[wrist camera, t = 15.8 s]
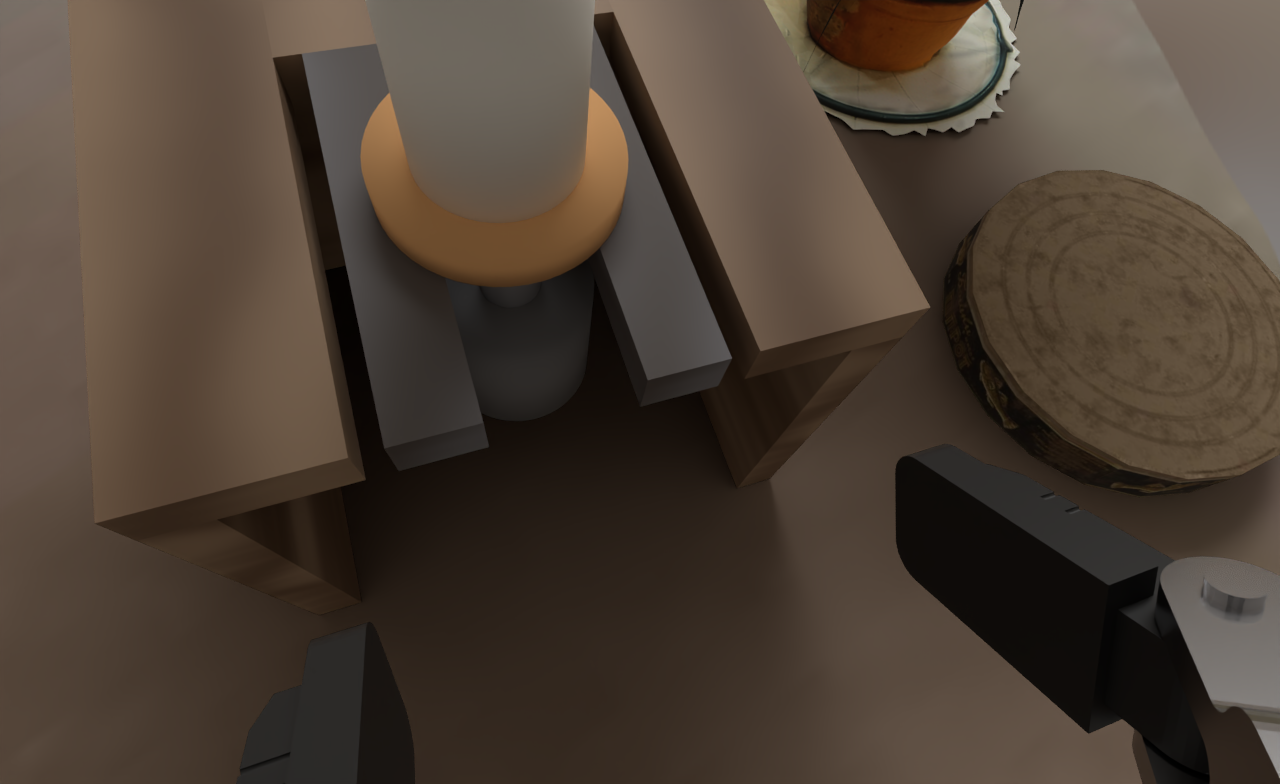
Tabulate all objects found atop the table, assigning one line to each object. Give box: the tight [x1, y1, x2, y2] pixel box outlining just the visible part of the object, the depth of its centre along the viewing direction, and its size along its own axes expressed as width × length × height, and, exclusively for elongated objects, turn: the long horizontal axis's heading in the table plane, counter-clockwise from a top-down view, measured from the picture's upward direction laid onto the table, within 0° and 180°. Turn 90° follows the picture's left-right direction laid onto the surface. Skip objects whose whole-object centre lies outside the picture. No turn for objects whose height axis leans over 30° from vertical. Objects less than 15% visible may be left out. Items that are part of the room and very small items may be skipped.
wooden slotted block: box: [68, 0, 930, 615], centre depth 24 cm, size 18×16×14 cm
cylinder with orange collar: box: [360, 0, 629, 421], centre depth 19 cm, size 6×6×16 cm
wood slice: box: [942, 170, 1280, 497], centre depth 34 cm, size 16×16×3 cm
